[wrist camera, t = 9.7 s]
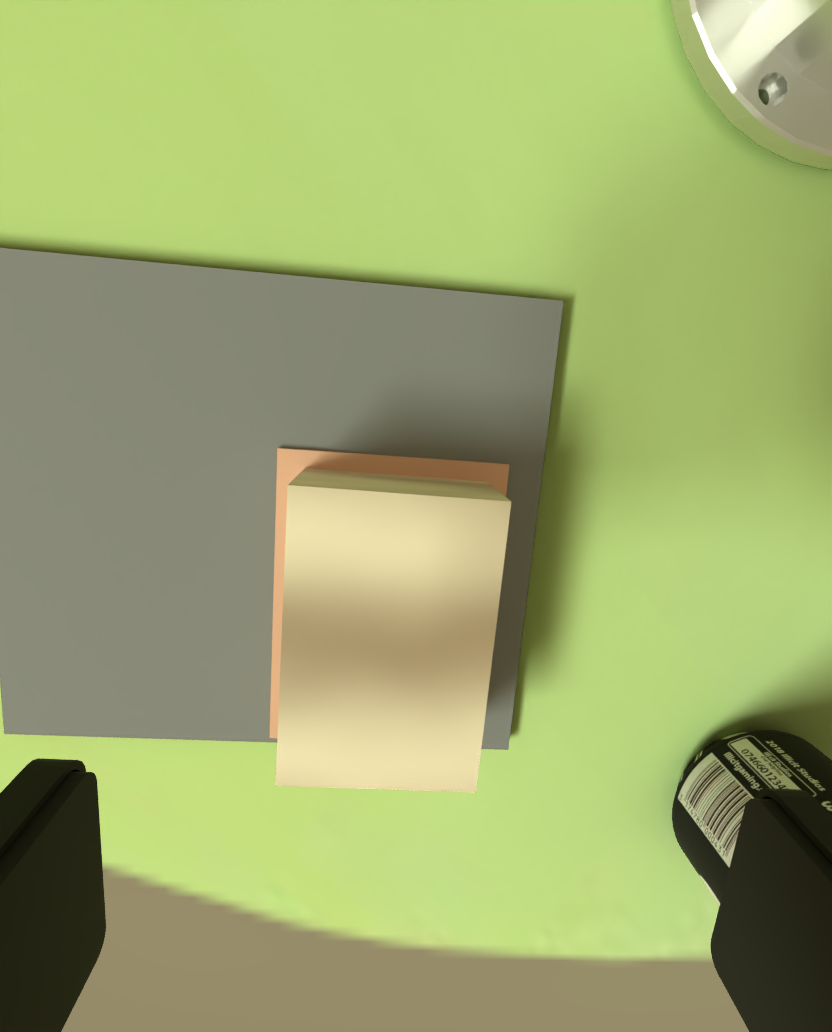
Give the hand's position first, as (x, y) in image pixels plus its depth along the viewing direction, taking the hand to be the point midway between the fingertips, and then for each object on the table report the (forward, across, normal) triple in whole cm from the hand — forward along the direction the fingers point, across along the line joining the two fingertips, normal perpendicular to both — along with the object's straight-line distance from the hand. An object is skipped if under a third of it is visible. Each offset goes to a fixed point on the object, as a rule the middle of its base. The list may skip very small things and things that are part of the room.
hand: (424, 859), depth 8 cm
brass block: (+12, +1, +1) cm, 12 cm away
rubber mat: (+12, +5, -1) cm, 13 cm away
